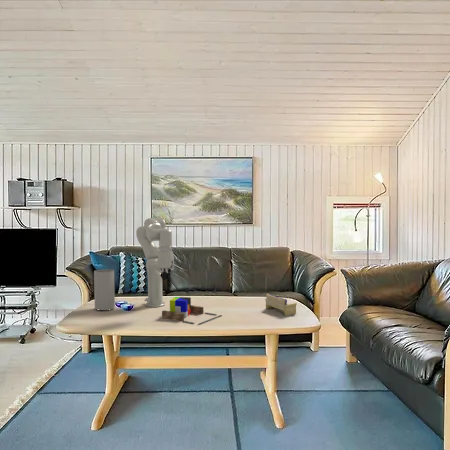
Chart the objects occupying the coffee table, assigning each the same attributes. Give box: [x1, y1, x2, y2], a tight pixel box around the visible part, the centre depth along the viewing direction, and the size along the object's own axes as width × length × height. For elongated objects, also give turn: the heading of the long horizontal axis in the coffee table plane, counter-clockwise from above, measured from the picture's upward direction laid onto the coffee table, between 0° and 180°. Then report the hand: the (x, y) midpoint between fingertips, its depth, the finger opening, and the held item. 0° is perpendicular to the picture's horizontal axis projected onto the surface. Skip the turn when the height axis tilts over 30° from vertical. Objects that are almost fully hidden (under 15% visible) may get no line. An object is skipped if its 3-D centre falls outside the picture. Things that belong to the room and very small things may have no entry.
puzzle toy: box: [169, 296, 192, 319], centre depth 243 cm, size 10×10×10 cm
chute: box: [161, 304, 205, 322], centre depth 242 cm, size 15×21×4 cm
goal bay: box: [181, 312, 223, 326], centre depth 234 cm, size 12×23×1 cm, turn 147°
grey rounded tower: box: [93, 268, 116, 311], centre depth 260 cm, size 12×12×25 cm
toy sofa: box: [264, 293, 297, 316], centre depth 250 cm, size 21×9×10 cm, turn 31°
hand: (166, 278), depth 248 cm, fingers closed
